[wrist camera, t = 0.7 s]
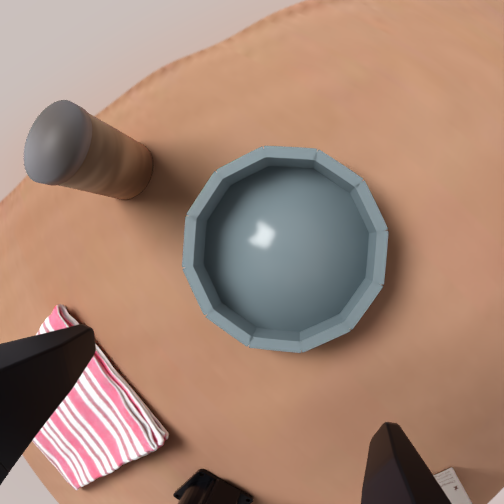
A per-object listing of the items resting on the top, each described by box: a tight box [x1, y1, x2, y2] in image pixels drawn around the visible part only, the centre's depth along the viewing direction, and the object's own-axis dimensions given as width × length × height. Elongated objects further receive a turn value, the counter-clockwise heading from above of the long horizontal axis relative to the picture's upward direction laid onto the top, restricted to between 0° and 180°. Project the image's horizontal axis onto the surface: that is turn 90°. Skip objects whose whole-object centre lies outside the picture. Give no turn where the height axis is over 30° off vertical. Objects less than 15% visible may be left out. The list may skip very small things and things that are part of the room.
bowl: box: [182, 146, 388, 353], centre depth 22 cm, size 14×14×3 cm
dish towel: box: [32, 304, 169, 490], centre depth 26 cm, size 17×23×4 cm
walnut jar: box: [24, 100, 153, 200], centre depth 20 cm, size 5×5×10 cm
